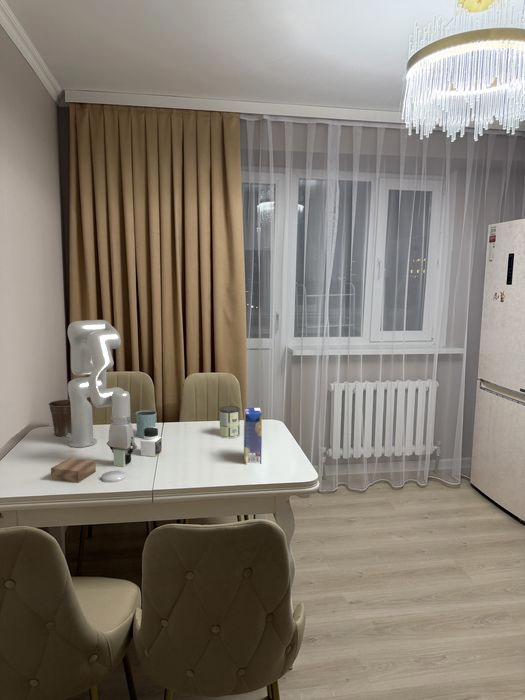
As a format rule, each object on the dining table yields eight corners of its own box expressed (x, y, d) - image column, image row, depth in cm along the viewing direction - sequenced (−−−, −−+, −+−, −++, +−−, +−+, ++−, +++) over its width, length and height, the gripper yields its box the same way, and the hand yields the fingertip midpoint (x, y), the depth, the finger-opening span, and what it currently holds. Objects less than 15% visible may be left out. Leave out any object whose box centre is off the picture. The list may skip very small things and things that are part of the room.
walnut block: (51, 480, 200) (50, 468, 199) (69, 469, 212) (69, 458, 211) (78, 483, 197) (78, 471, 197) (95, 472, 209) (95, 460, 208)
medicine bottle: (155, 457, 227) (155, 430, 225) (140, 455, 228) (140, 429, 227) (161, 451, 234) (161, 426, 232) (147, 450, 235) (146, 425, 234)
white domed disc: (97, 481, 200) (96, 477, 200) (111, 473, 208) (110, 469, 208) (116, 484, 197) (116, 480, 197) (130, 476, 205) (130, 472, 205)
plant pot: (47, 431, 263) (46, 400, 261) (80, 427, 271) (79, 397, 269) (52, 440, 249) (51, 407, 247) (87, 435, 257) (86, 404, 255)
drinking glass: (132, 435, 257) (131, 412, 255) (148, 431, 265) (148, 409, 263) (144, 440, 250) (143, 416, 249) (160, 435, 258) (160, 412, 256)
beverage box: (258, 455, 231) (259, 407, 228) (261, 464, 220) (261, 414, 217) (243, 455, 230) (244, 407, 227) (245, 464, 219) (245, 414, 216)
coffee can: (227, 431, 267) (227, 404, 265) (243, 434, 262) (243, 407, 260) (215, 436, 258) (215, 408, 256) (232, 439, 253) (232, 411, 251)
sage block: (113, 465, 216) (113, 449, 215) (121, 461, 221) (120, 445, 220) (123, 467, 214) (123, 450, 213) (130, 463, 219) (130, 447, 218)
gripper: (98, 420, 215) (100, 462, 217) (133, 425, 209) (134, 467, 211) (110, 416, 222) (111, 456, 224) (143, 420, 216) (144, 462, 218)
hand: (122, 461), depth 217 cm, fingers closed on sage block, 5 cm apart
